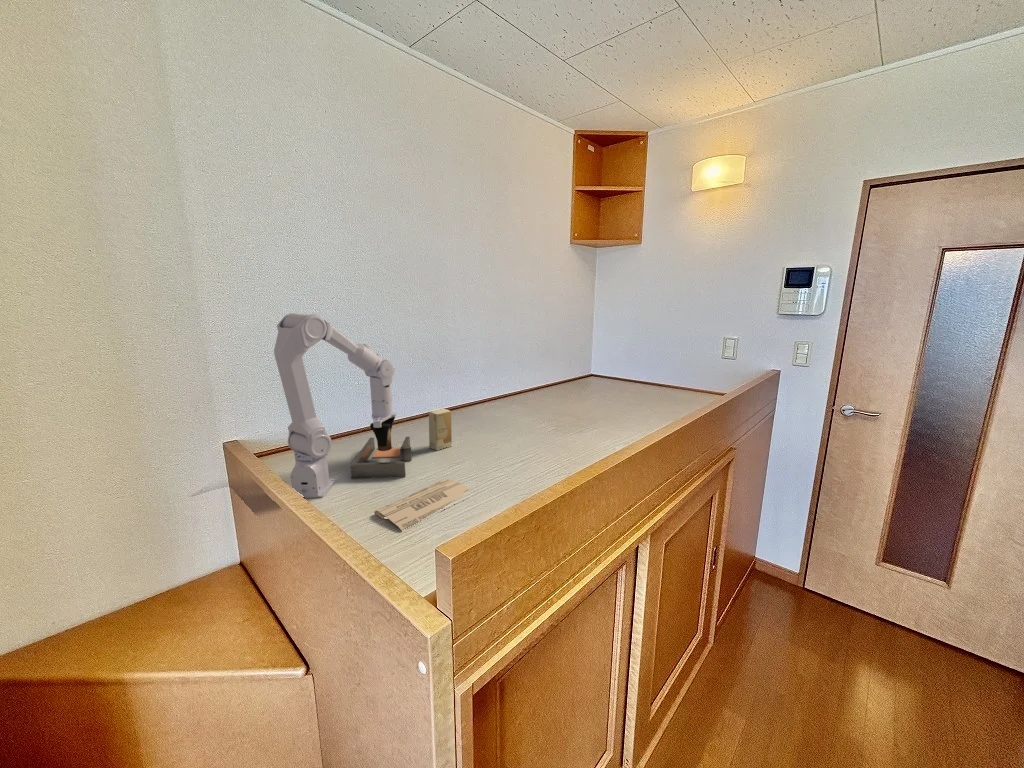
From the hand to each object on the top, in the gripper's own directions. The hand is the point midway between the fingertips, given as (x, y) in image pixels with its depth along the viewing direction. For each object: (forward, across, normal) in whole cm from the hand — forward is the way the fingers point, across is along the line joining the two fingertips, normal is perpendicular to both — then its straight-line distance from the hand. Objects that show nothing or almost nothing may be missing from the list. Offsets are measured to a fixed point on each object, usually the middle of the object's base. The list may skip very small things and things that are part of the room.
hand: (384, 443), depth 122 cm
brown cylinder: (+2, 0, 0) cm, 2 cm away
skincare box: (+5, +9, -16) cm, 19 cm away
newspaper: (+6, -28, -15) cm, 33 cm away
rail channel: (+5, -3, -1) cm, 6 cm away
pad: (+5, +5, 0) cm, 7 cm away
